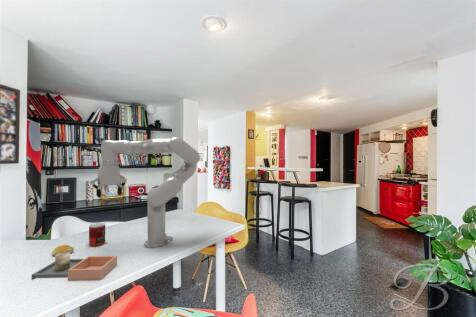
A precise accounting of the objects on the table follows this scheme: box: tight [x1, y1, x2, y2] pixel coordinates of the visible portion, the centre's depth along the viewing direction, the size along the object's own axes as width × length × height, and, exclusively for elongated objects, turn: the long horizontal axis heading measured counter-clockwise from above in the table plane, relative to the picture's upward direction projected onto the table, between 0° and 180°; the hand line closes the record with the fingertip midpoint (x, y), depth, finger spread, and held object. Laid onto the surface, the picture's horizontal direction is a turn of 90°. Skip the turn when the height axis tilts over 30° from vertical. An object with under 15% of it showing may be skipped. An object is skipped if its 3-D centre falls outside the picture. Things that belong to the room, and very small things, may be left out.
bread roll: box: [51, 244, 75, 257], centre depth 115 cm, size 8×9×4 cm
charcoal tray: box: [31, 258, 85, 280], centre depth 97 cm, size 14×14×2 cm
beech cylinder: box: [54, 252, 71, 271], centre depth 97 cm, size 5×5×6 cm
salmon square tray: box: [67, 255, 118, 281], centre depth 94 cm, size 13×13×4 cm
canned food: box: [88, 222, 106, 248], centre depth 127 cm, size 8×8×11 cm
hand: (109, 196), depth 119 cm, fingers open, 9 cm apart
